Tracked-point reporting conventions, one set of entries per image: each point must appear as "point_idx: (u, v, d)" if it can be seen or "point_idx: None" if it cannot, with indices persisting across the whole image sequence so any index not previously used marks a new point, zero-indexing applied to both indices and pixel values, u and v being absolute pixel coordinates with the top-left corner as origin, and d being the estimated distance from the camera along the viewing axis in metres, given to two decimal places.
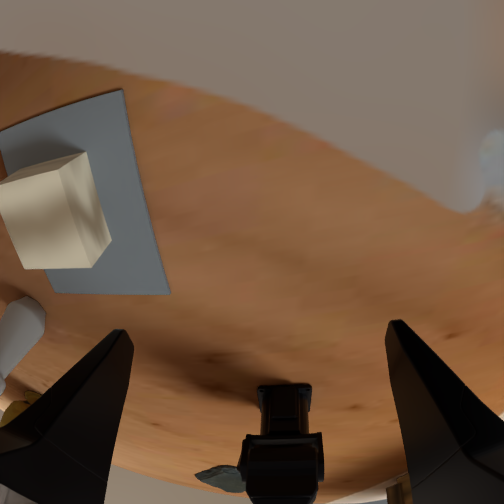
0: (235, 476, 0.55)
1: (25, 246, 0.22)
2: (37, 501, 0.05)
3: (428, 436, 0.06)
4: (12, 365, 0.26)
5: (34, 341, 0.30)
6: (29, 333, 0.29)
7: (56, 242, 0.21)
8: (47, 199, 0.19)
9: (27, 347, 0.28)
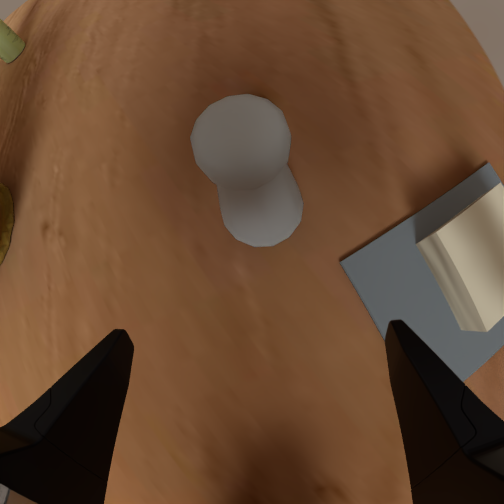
0: None
1: (468, 235, 0.18)
2: (37, 501, 0.05)
3: (428, 436, 0.06)
4: (252, 202, 0.16)
5: (257, 236, 0.20)
6: (281, 228, 0.20)
7: (494, 281, 0.17)
8: None
9: (260, 226, 0.19)
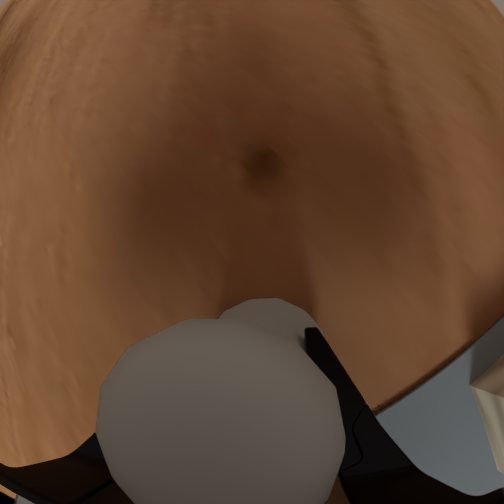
0: None
1: None
2: None
3: None
4: None
5: None
6: None
7: None
8: None
9: None
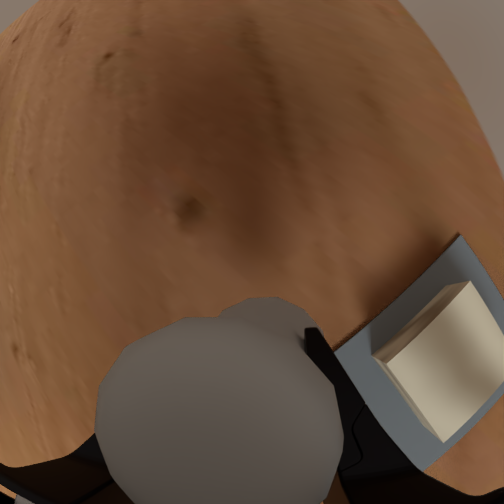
0: None
1: (426, 357, 0.17)
2: None
3: None
4: None
5: None
6: None
7: (454, 396, 0.16)
8: (492, 365, 0.16)
9: None
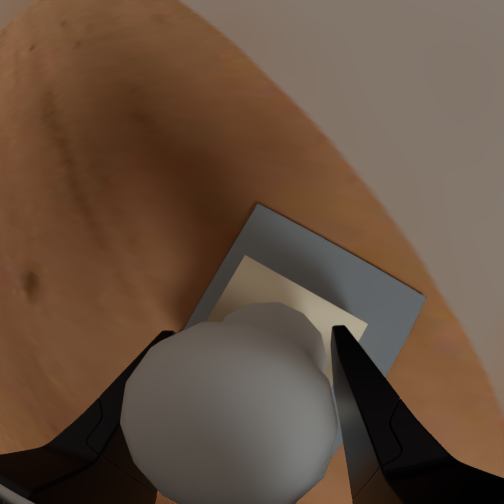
0: None
1: None
2: None
3: (358, 448, 0.06)
4: None
5: None
6: None
7: None
8: None
9: None
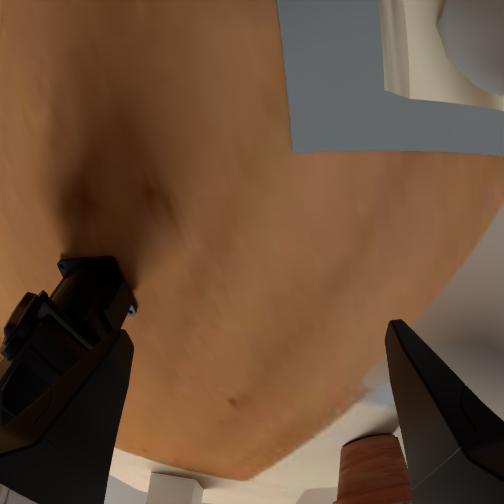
0: None
1: None
2: (37, 501, 0.05)
3: (428, 435, 0.06)
4: None
5: (478, 54, 0.08)
6: (501, 84, 0.08)
7: None
8: None
9: None
